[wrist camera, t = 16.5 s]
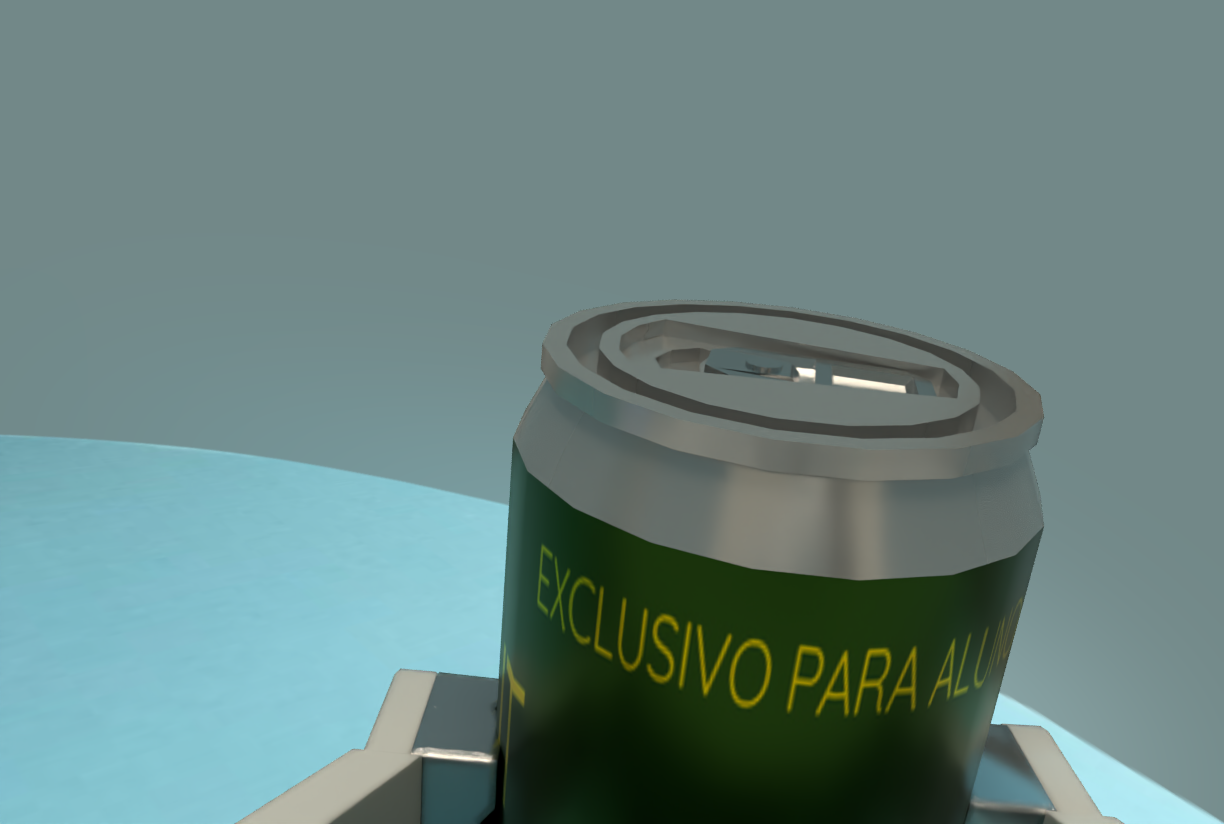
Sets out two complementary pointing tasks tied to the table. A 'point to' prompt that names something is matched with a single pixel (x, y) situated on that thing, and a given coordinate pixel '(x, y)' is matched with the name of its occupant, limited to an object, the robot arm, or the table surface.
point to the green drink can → (759, 569)
